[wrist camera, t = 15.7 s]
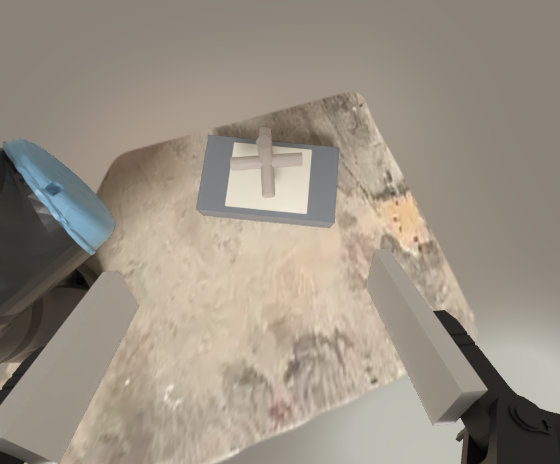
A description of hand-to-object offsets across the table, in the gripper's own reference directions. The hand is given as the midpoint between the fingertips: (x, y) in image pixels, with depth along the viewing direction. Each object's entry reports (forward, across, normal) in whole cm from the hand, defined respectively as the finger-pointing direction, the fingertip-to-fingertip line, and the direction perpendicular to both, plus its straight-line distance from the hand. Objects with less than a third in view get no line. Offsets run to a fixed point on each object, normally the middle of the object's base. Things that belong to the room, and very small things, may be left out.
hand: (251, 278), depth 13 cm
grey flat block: (+31, +1, -8) cm, 32 cm away
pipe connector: (+28, +1, -6) cm, 28 cm away
